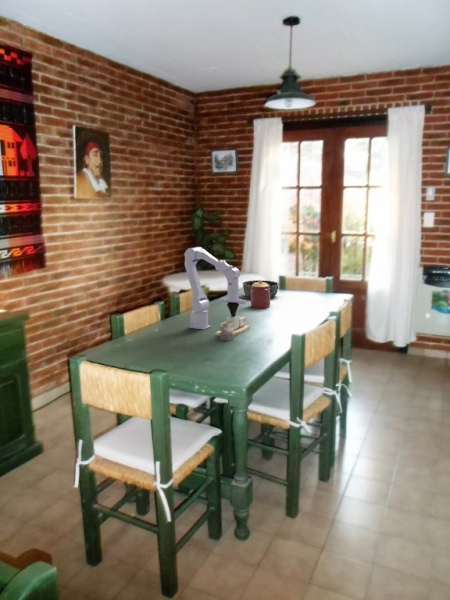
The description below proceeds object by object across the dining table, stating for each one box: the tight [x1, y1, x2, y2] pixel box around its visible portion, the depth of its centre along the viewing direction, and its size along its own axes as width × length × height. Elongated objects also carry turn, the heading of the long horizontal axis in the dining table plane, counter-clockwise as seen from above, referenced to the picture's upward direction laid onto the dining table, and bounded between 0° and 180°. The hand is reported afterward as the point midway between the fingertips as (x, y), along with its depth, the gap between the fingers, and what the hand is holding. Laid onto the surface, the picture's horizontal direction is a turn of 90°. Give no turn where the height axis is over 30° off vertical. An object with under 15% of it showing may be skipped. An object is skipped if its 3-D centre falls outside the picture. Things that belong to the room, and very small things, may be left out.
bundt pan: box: [242, 279, 280, 299], centre depth 354 cm, size 26×26×10 cm
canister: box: [250, 279, 271, 309], centre depth 320 cm, size 13×13×18 cm
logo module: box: [226, 315, 240, 329], centre depth 260 cm, size 4×5×6 cm
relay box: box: [219, 331, 234, 342], centre depth 248 cm, size 5×4×4 cm
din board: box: [215, 315, 251, 338], centre depth 261 cm, size 10×20×6 cm, turn 151°
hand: (233, 316), depth 260 cm, fingers closed, pressing on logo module
